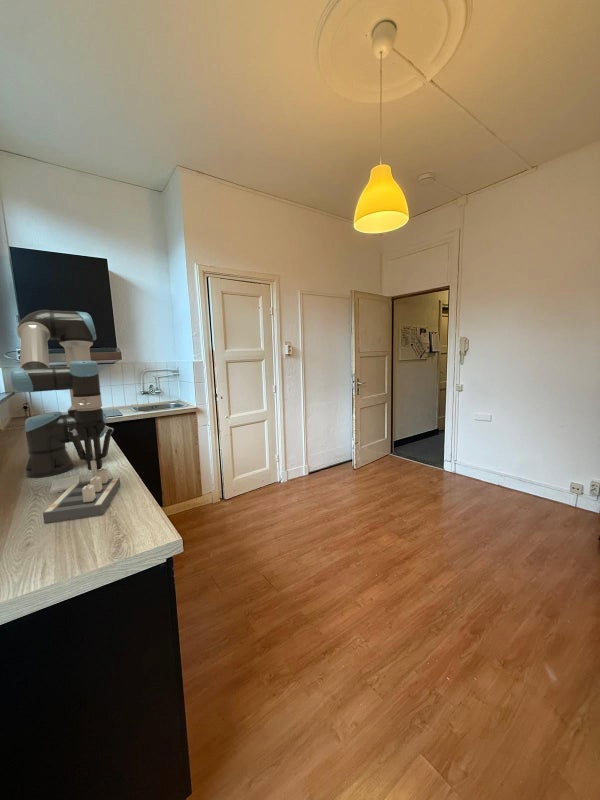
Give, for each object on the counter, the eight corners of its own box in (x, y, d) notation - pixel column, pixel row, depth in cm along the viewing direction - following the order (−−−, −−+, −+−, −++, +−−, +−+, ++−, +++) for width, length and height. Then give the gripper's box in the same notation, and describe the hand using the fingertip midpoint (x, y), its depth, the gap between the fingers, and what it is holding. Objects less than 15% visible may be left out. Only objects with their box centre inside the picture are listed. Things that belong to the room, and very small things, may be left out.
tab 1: (86, 498, 94) (84, 484, 93) (95, 497, 94) (94, 483, 94) (83, 502, 91) (81, 487, 91) (93, 501, 92) (91, 486, 91)
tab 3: (100, 481, 107) (99, 468, 106) (108, 480, 108) (107, 468, 107) (98, 484, 105) (96, 471, 104) (106, 483, 105) (105, 470, 105)
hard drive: (52, 480, 115) (49, 491, 105) (79, 474, 120) (79, 485, 110) (52, 484, 116) (50, 496, 105) (80, 479, 120) (79, 489, 110)
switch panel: (74, 491, 107) (73, 482, 107) (120, 485, 112) (119, 477, 111) (44, 523, 87) (42, 512, 86) (102, 514, 91) (101, 504, 90)
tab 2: (93, 489, 100) (92, 476, 100) (102, 488, 101) (100, 475, 100) (91, 492, 98) (89, 479, 97) (100, 491, 99) (98, 478, 98)
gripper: (60, 412, 97) (69, 485, 100) (108, 409, 100) (115, 480, 104) (69, 408, 104) (77, 477, 107) (114, 405, 107) (120, 472, 111)
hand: (96, 478), depth 105 cm, fingers closed
